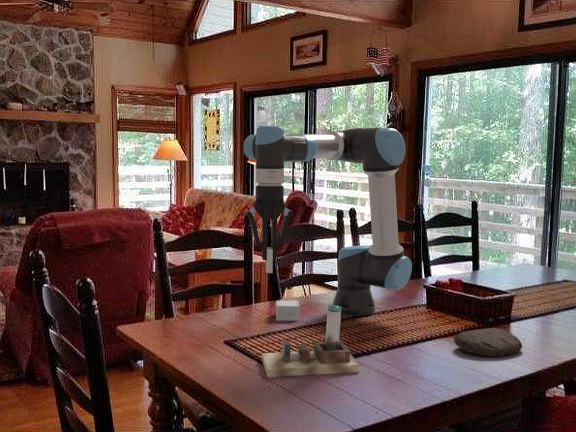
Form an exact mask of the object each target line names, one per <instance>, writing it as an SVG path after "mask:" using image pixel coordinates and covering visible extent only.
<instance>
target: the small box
mask: <svg viewBox="0 0 576 432" xmlns="http://www.w3.org/2000/svg"><path fill="white" fill-rule="evenodd" d="M275 318H276V322H277V321H280V322H282V321H286V322H287V321H291V322H292V321H300V304H299V300H280V299H279V300H276V301H275Z"/></svg>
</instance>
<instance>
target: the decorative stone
mask: <svg viewBox="0 0 576 432" xmlns="http://www.w3.org/2000/svg"><path fill="white" fill-rule="evenodd" d="M453 339H454V340H453V343H454V344H455V346H457V347H458V348H459V349H460V350H463V351H465V352H468V353H471V354H475V355H479V356H484V357H502V356H509V355H511V354H512V355H513V354H516V353H518V352H520V351H521V350H522V348H523V344H522V342H521V340H520V339H519V338H518V337H517V336H516V335H514V334H512V333H510V332H509V331H506V330H505V329H502V328H497V327H495V328H494V327H492V328H491V327H490V328H481V329H473V330H466V331H462V332H460V333H457V334H456V335H455V336H454V338H453Z"/></svg>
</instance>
